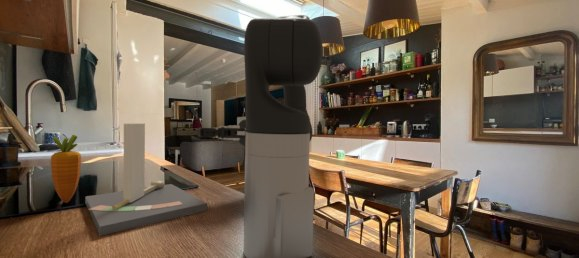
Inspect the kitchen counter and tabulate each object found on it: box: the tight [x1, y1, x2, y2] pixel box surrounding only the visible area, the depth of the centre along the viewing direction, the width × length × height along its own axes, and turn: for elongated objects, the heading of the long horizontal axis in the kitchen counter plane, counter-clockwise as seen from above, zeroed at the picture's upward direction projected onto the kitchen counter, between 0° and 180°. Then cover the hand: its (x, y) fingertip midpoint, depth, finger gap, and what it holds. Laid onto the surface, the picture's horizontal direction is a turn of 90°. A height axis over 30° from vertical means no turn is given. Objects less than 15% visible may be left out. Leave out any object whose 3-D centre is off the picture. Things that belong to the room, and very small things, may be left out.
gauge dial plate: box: [85, 183, 208, 237], centre depth 54 cm, size 21×18×2 cm
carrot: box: [50, 134, 82, 204], centre depth 55 cm, size 5×5×15 cm
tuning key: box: [112, 123, 165, 209], centre depth 56 cm, size 18×3×16 cm, turn 2°
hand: (198, 132), depth 60 cm, fingers closed
